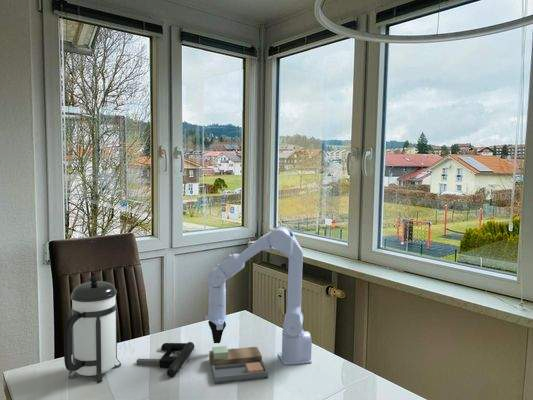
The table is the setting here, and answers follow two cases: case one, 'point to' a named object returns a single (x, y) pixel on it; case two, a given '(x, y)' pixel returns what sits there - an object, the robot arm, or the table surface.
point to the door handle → (170, 357)
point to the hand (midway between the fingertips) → (216, 342)
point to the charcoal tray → (236, 373)
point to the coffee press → (92, 330)
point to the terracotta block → (254, 367)
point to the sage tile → (220, 352)
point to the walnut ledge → (237, 356)
